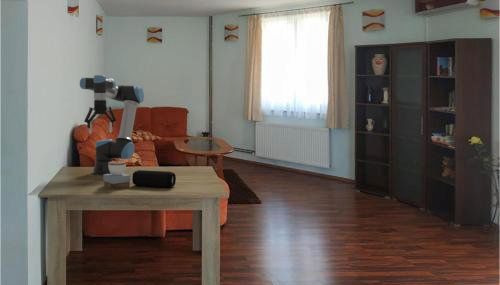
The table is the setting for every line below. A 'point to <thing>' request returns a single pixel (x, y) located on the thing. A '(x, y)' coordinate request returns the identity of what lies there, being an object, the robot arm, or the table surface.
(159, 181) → the portable speaker
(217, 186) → the table surface
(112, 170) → the lidded jar
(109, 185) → the tower base
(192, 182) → the table surface
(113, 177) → the tower top
